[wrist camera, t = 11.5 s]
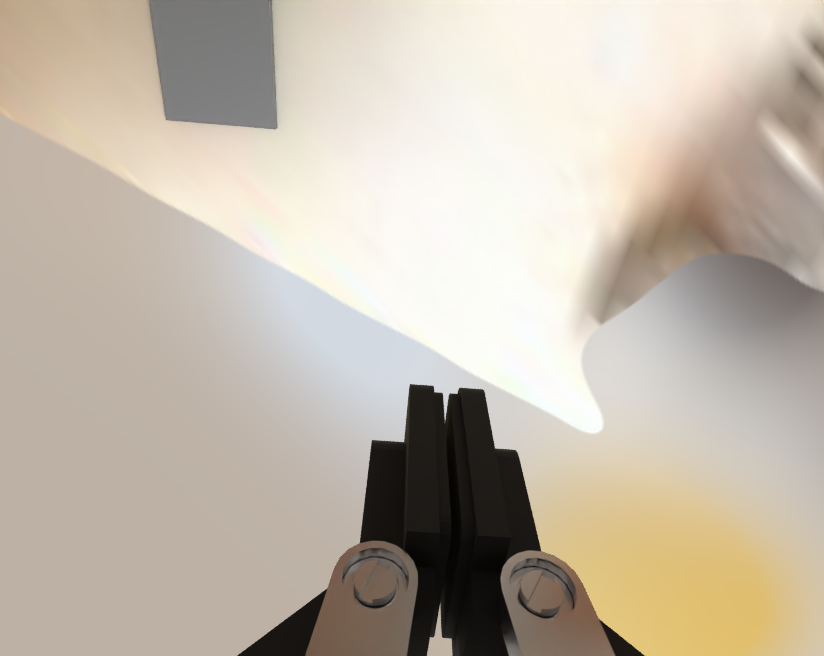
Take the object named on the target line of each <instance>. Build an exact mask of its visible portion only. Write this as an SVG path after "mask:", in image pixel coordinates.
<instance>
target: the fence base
mask: <svg viewBox="0 0 824 656" xmlns="http://www.w3.org/2000/svg"><path fill="white" fill-rule="evenodd" d="M149 4H150V11H151V18H152V25H153V32H154V39H155V46H156V53H157V60H158V67H159V74H160V81H161V88H162V95H163V102H164V109H165V116H166V120H172V121H184V122H196V123H208V124H220V125H232V126H243V127H255V128H267V129H276V128H277V110H276V88H275V65H274V43H273V20H272V0H149Z"/></svg>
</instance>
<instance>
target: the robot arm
mask: <svg viewBox="0 0 824 656" xmlns="http://www.w3.org/2000/svg"><path fill="white" fill-rule="evenodd" d="M440 604H441V628H442V637H443V638H452V652H453V656H644V655H643V654H642V653H641V652H639V651H638V650H637V649H635V648H634V647H633V646H632V645H631V644H629V643H628V642H627V641H625V640H624V639H623V638H622V637H620V636H619V635H618V634H617V633H616V632H614V631H613V630H612V629H611V628H609V627H608V626H607V625H605V624H604V623H603V622H602V621H601V620H599V618H598V616H597V614H596V612H595V610H594V608H593V605H592V603H591V601H590V599H589V597H588V595H587V592H586V590H585V588H584V586H583V583H582V582H581V580H580V579H579V577H578V576H577V574H576V572H575V571H574V570H573V569H571V568H570V567H569V566H568V565H567V564H566V563H565V562H564V561H562V560H560V559H559V558H557V557H555V556H554V555H551V554H547V553H545V552H542V551H541V548H540V544H539V540H538V535H537V531H536V527H535V523H534V519H533V515H532V510H531V506H530V502H529V498H528V493H527V489H526V485H525V481H524V477H523V472H522V468H521V464H520V460H519V456H518V453H517V452H516V450H507V449H495V446H494V441H493V436H492V430H491V425H490V419H489V414H488V408H487V403H486V397H485V392H484V390H482V389H469V388H459V390H458V394H450V395H449V399H448V406H447V413H446V420H445V419H444V404H443V394H442V393H436V392H434V387H433V386H427V385H412V384H410V388H409V397H408V407H407V418H406V430H405V439H404V442H391V441H376V440H372V445H371V452H370V461H369V470H368V479H367V487H366V495H365V504H364V512H363V522H362V530H361V538H360V543H359V544H357V545H356V546H354V547H352V548H350V549H348V550H347V551H346V552H345V553H344V554H343V555H342V556H341V557H340V558H339V560H338V562H337V564H336V566H335V568H334V570H333V573H332V576H331V579H330V582H329V586H328V588H327V589H326V590H325V591H323V592H322V593H321V594H319V595H318V596H317V597H315V598H314V599H313V600H311V601H310V602H309V603H307V604H306V605H305V606H303V607H302V608H301V609H299V610H298V611H296V612H295V613H294V614H293V615H291V616H290V617H288V618H287V619H286V620H284V621H283V622H282V623H280V624H279V625H278V626H276V627H275V628H274V629H272V630H271V631H270V632H268V633H267V634H266V635H264V636H263V637H262V638H261V639H259V640H258V641H256V642H255V643H254V644H252V645H251V646H250V647H248V648H247V649H246V650H244V651H243V652H242V653H240V654H239V655H238V656H427V651H428V645H429V639H430V637H434V635H435V629H436V623H437V618H438V611H439V606H440Z"/></svg>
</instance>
